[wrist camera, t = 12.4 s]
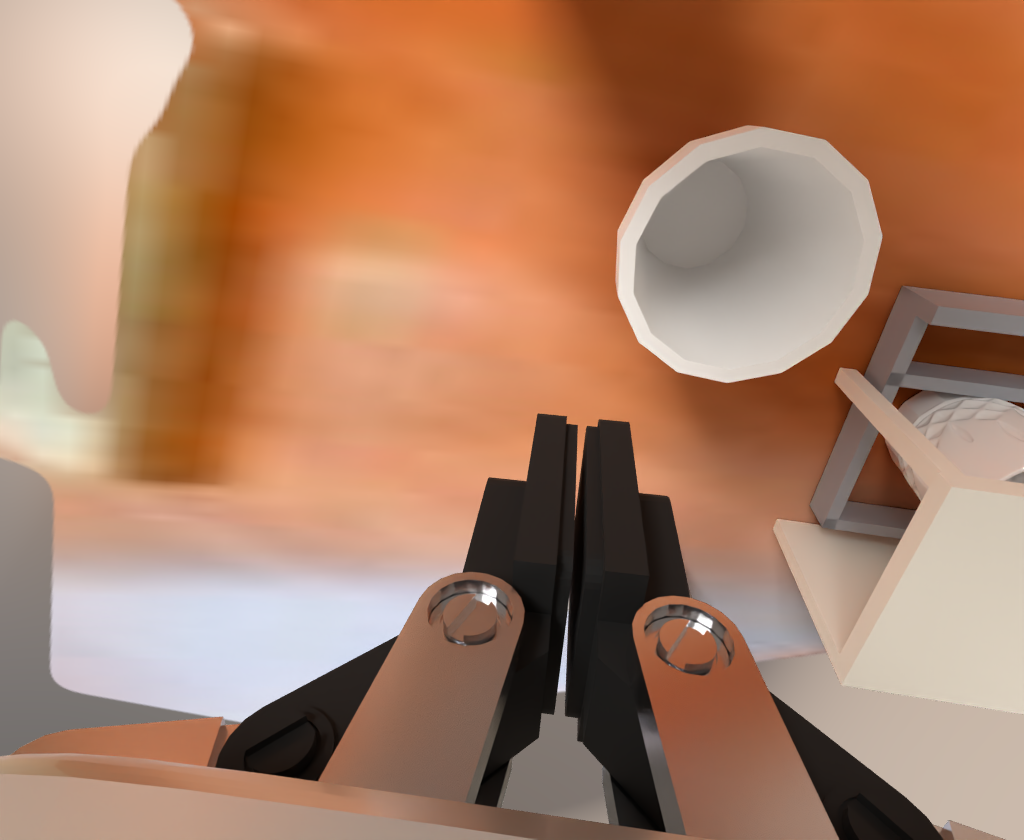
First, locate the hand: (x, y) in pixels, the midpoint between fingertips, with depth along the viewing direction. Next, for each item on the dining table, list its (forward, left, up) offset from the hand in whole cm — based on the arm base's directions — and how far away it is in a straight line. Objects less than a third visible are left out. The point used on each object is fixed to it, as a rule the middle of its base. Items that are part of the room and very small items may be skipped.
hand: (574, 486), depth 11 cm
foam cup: (-1, +6, -27) cm, 28 cm away
